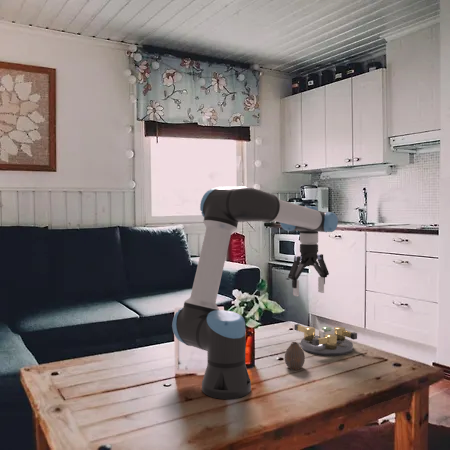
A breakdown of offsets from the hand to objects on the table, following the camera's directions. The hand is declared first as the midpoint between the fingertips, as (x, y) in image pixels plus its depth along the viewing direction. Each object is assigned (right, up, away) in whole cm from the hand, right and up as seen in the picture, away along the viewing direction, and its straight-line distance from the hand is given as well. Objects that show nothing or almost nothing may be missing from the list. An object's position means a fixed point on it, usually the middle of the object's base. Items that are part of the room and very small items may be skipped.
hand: (308, 294), depth 197 cm
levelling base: (+5, -20, -11) cm, 23 cm away
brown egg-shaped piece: (-11, -21, -33) cm, 41 cm away
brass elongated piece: (+13, -17, -10) cm, 24 cm away
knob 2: (+3, -18, -20) cm, 27 cm away
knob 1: (-3, -17, -5) cm, 18 cm away
